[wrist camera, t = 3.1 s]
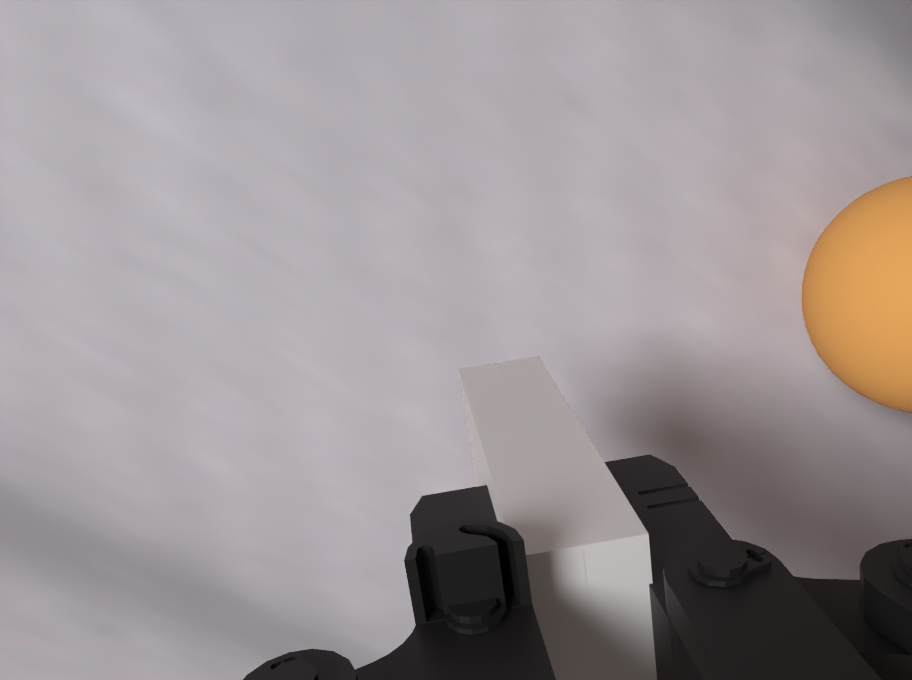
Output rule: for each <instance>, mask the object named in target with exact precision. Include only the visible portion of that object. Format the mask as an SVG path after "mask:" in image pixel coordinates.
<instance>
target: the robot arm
mask: <svg viewBox="0 0 912 680" xmlns="http://www.w3.org/2000/svg"><path fill="white" fill-rule="evenodd" d="M459 376H460V383H461V390H462V396H463V403H464V410H465V417H466V423H467V430H468V437H469V444H470V451H471V457H472V464H473V471H474V478H475V484H476V487H472V488H466V489H461V490H455V491H449V492H443V493H437V494H431V495H426V496H422V497H421V499H420V500H419V502H418V503H417V505H416V506H415V508H414V510H413V511H412V513H411V514H410V519H411V531H412V542H413V543H412V544H411V545H410V546H409V547H408V549H407V553H406V556H405V560H404V562H405V567H406V573H407V579H408V584H409V590H410V595H411V601H412V606H413V612H414V617H415V623H416V626H415V628H414V630H413V632H412V634H411V635H410V636H409V637H408V638H407V639H406V641H405V642H404V643H403V644H402V645H401V646H399V647H398V648H397V649H395V650H394V651H393V652H391V653H390V654H388V655H386V656H384V657H382V658H380V659H378V660H376V661H375V662H373V663H370V664H368V665H365V666H363V667H360V668H358V669H356V670H355V669H354V668H353V666H352V664H351V662H350V661H349V659H347V658H345V657H343V656H341V655H339V654H337V653H336V652H334V651H327V650H318V649H309V650H302V651H296V652H289V653H287V654H284V655H282V656H279V657H277V658H274V659H272V660H269V661H267V662H265V663H264V664H262V665H261V666H259V667H258V668H256V669H255V670H254V671H252V672H251V673H249V674H248V675H247V676H246V677H245V678H244V679H243V680H912V539H906V540H898V541H893V542H888V543H883V544H880V545H878V546H876V547H874V548H873V549H871V550H869V551H867V552H866V553H865V555H864V557H863V559H862V561H861V563H860V580H839V579H812V578H800V577H794V576H793V575H792V574H791V573H790V572H789V571H788V570H787V568H786V567H785V566H784V565H783V564H782V563H781V561H780V560H779V559H778V558H776V557H775V556H774V555H772V554H771V553H770V552H768V551H767V550H766V549H764V548H761V547H759V546H756V545H753V544H751V543H748V542H745V541H737V540H732V539H731V537H730V536H729V535H728V534H727V532H726V531H725V530H724V528H723V527H722V526H721V525H720V523H719V522H718V521H717V520H716V518H715V517H714V516H713V515H712V513H711V512H710V511H709V510H708V508H707V507H706V506H705V505H704V503H703V502H702V501H699V498H698V496H697V495H696V493H695V492H694V491H693V490H692V488H691V487H688V483H687V482H686V481H685V479H684V478H683V477H682V476H681V474H680V473H679V472H678V471H677V469H676V468H675V467H674V466H672V465H670V464H668V463H666V462H664V461H662V460H660V459H658V458H655V457H653V456H651V455H645V456H639V457H633V458H627V459H621V460H616V461H610V462H604V461H603V459H602V458H601V456H600V454H599V453H598V451H597V450H596V448H595V446H594V445H593V443H592V442H591V440H590V438H589V437H588V435H587V433H586V432H585V430H584V429H583V427H582V425H581V424H580V422H579V421H578V419H577V417H576V416H575V414H574V412H573V411H572V409H571V408H570V406H569V404H568V403H567V401H566V400H565V398H564V396H563V395H562V393H561V391H560V390H559V388H558V387H557V385H556V383H555V382H554V380H553V378H552V377H551V375H550V374H549V372H548V370H547V369H546V367H545V366H544V364H543V362H542V361H541V359H540V357H539V356H537V357H531V358H525V359H519V360H513V361H507V362H501V363H495V364H488V365H482V366H476V367H470V368H464V369H459Z"/></svg>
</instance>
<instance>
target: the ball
mask: <svg viewBox="0 0 912 680" xmlns="http://www.w3.org/2000/svg"><path fill="white" fill-rule="evenodd" d="M802 309H803V316H804V321H805V325H806V328H807V331H808V333H809V336H810V338H811V341H812V344H813V345H814V347H815V349H816V351H817V352H818V354H819V356H820V357H821V358H822V360H823V361H824V362H825V364H826V365H827V366H828V367H829V369H830V370H831V371H832V372H833V373H834V374H835V375H836V376H837V377H838V378H839V379H840V380H841V381H843V382H844V383H845V384H846V385H847V386H849V387H850V388H852V389H853V390H855V391H856V392H857V393H859V394H861V395H863V396H865V397H866V398H868V399H871V400H873V401H875V402H877V403H879V404H881V405H884V406H888V407H891V408H894V409H898V410H901V411H906V412H912V176H911V177H906V178H902V179H898V180H895V181H893V182H890V183H887V184H884V185H882V186H880V187H877V188H875V189H873V190H871V191H869V192H868V193H866V194H864V195H862V196H861V197H859V198H858V199H856V200H855V201H853V202H852V203H851V204H850V205H848V206H847V207H846V208H845V209H844V210H842V211H841V212H840V213H839V214H838V215H837V216H836V217H835V218H834V219H833V220H832V221H831V223H830V224H829V225H828V226H827V227H826V229H825V230H824V231H823V233H822V234H821V235H820V237H819V239H818V241H817V242H816V244H815V246H814V248H813V250H812V252H811V254H810V257H809V259H808V262H807V265H806V269H805V273H804V278H803V284H802Z"/></svg>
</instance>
